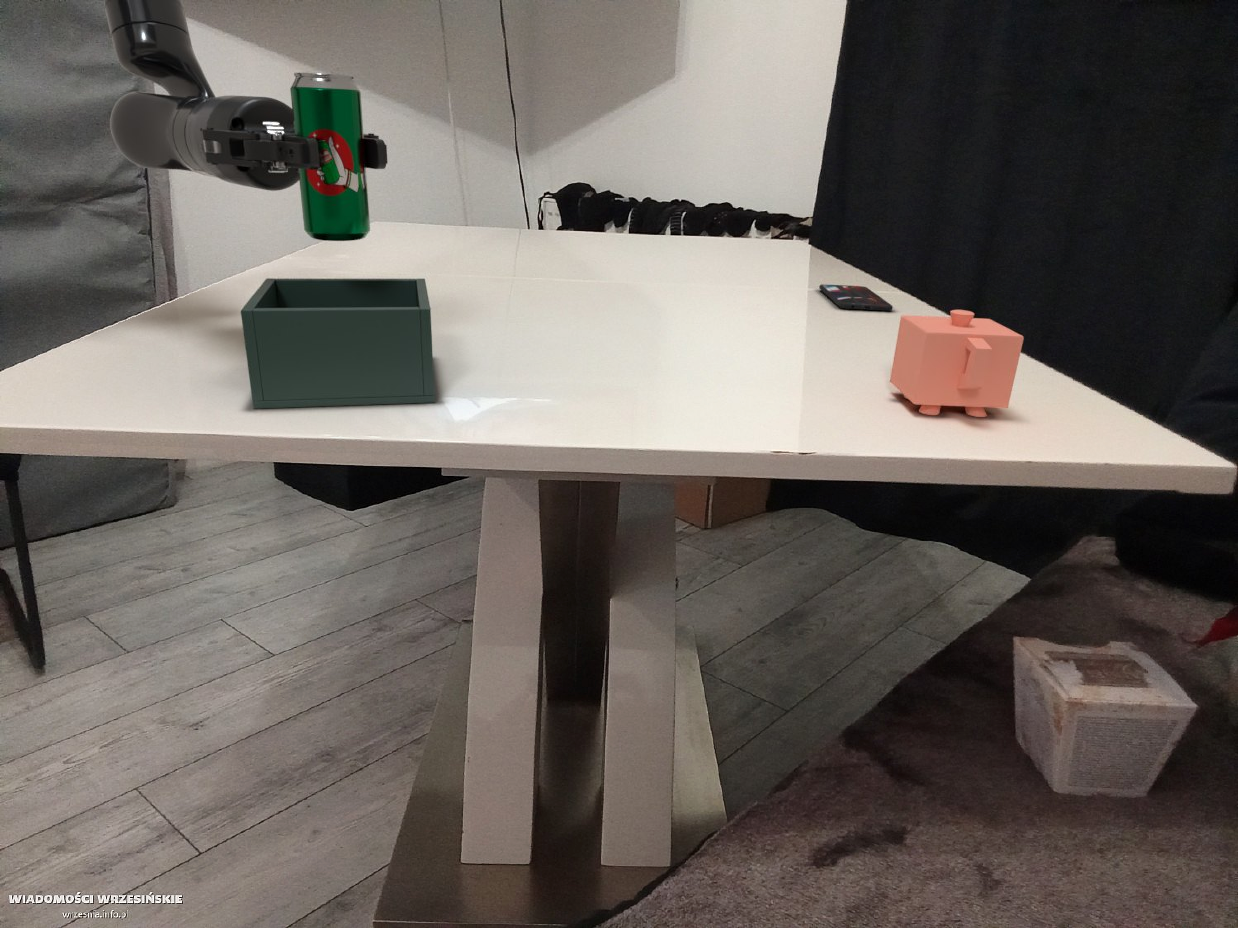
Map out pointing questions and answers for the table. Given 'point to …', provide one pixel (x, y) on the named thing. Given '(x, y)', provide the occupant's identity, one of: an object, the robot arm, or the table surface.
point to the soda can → (332, 156)
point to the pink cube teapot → (955, 362)
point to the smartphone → (855, 297)
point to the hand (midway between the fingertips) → (349, 154)
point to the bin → (339, 342)
